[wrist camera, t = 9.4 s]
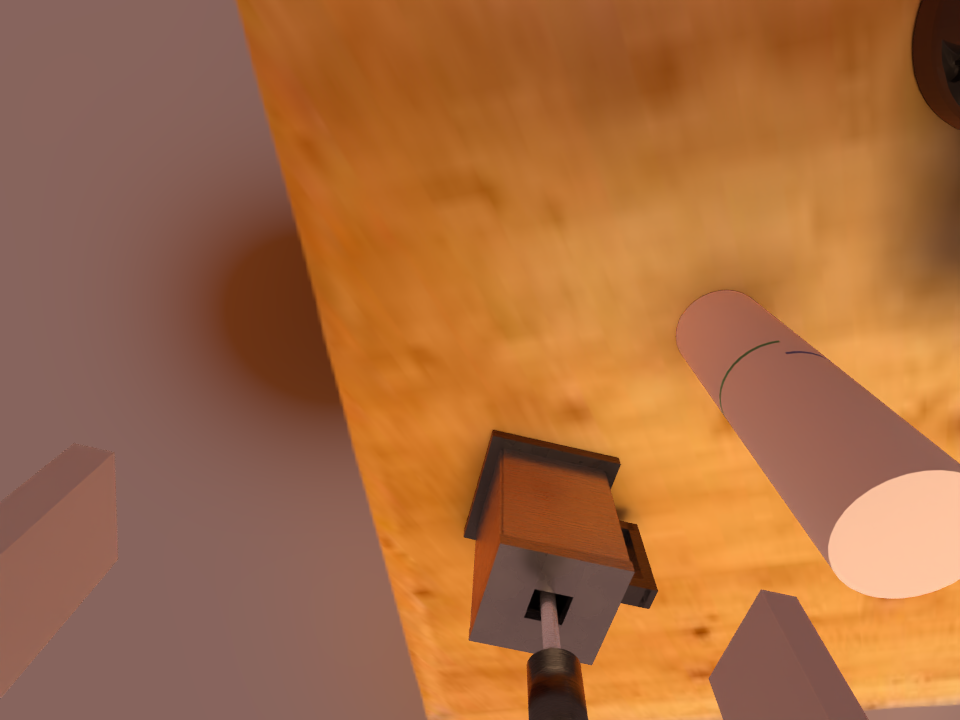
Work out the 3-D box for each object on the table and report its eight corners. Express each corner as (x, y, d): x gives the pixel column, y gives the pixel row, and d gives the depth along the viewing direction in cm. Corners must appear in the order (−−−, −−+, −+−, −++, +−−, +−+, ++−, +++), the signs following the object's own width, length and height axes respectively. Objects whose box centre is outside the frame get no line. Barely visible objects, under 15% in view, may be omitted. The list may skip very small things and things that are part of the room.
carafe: (649, 465, 54) (692, 573, 41) (608, 561, 59) (636, 683, 46) (493, 430, 53) (489, 529, 41) (464, 530, 58) (453, 646, 45)
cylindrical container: (753, 371, 50) (967, 601, 27) (670, 368, 50) (810, 595, 27) (772, 291, 47) (1029, 473, 24) (683, 288, 47) (853, 467, 24)
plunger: (592, 482, 53) (646, 712, 33) (567, 546, 56) (602, 792, 36) (509, 464, 52) (513, 686, 32) (489, 530, 55) (481, 769, 36)
